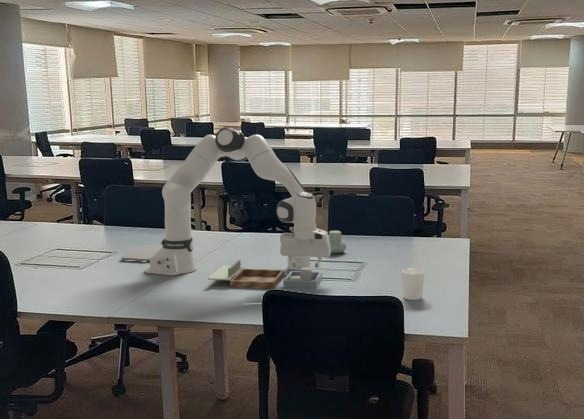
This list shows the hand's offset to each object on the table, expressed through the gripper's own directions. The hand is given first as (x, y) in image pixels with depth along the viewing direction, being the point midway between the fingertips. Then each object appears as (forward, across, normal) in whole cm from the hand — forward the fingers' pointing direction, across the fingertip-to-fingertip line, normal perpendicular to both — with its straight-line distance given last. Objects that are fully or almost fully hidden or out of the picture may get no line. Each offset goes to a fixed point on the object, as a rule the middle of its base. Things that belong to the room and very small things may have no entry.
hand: (305, 266), depth 258 cm
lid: (+3, -33, -3) cm, 33 cm away
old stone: (+6, -3, -6) cm, 9 cm away
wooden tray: (+6, -19, -3) cm, 20 cm away
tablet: (+8, -84, +33) cm, 91 cm away
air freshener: (+6, +5, +50) cm, 50 cm away
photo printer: (+7, -6, +17) cm, 19 cm away
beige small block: (+6, 0, 0) cm, 6 cm away
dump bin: (+6, -1, -2) cm, 7 cm away
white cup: (+6, +43, -14) cm, 46 cm away
